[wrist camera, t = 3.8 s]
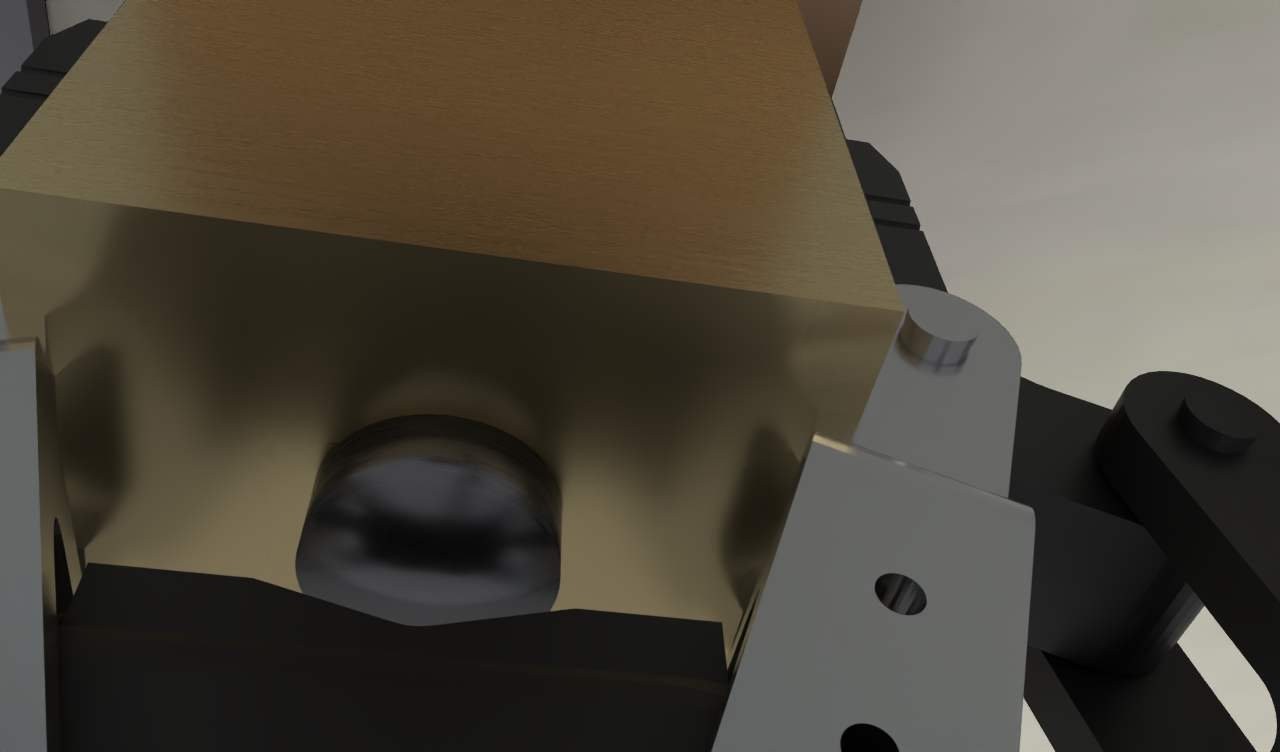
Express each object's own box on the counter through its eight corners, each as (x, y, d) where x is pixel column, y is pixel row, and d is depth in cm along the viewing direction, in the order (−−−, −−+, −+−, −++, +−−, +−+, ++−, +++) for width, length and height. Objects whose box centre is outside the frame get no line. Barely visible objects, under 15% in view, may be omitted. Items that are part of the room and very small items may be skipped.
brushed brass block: (247, -151, 11) (-75, 249, 5) (776, -56, 11) (928, 377, 6) (256, 219, 13) (40, 730, 8) (690, 279, 14) (748, 785, 9)
